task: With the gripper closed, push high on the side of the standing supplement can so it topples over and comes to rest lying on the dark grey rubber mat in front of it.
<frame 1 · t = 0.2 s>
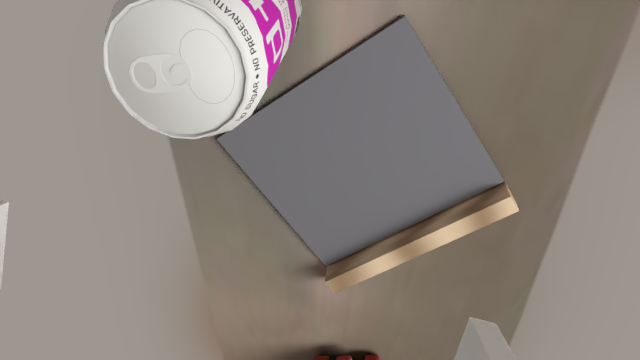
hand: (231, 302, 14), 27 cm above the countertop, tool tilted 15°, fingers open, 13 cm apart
stop rail: (413, 232, 45), on the countertop
mat: (359, 157, 42), on the countertop
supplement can: (247, 3, 37), on the countertop
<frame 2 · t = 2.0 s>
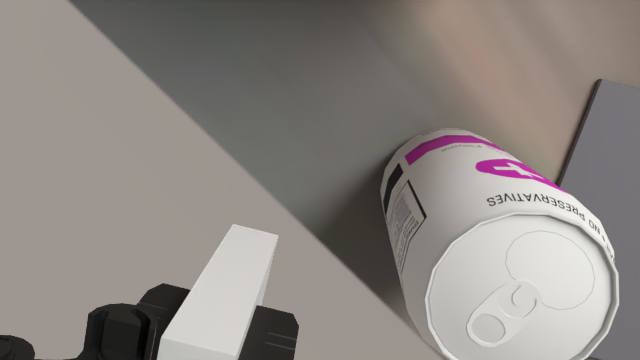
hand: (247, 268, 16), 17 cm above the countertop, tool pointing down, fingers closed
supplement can: (442, 187, 33), on the countertop
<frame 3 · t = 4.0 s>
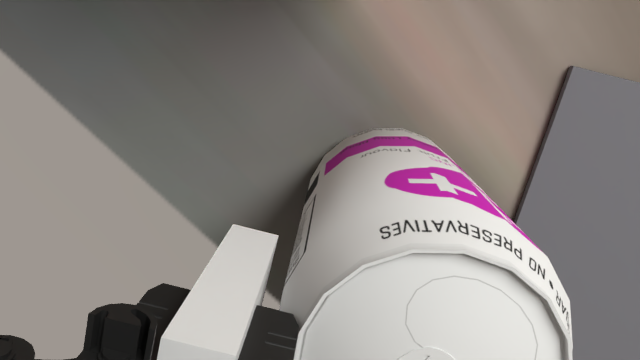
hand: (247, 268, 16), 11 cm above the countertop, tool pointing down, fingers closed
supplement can: (383, 200, 27), on the countertop, touching gripper
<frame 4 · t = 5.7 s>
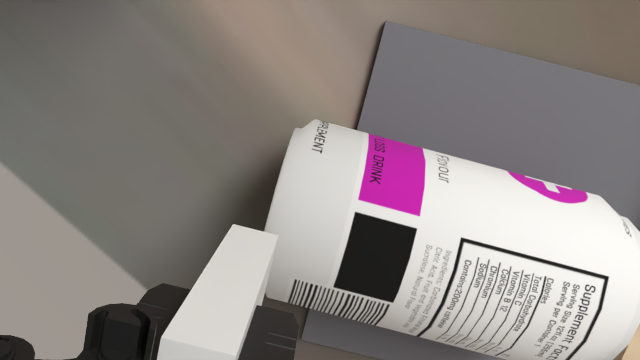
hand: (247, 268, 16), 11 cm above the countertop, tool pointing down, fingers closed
mat: (483, 227, 27), on the countertop
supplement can: (271, 201, 23), point 4 cm above the countertop, touching mat
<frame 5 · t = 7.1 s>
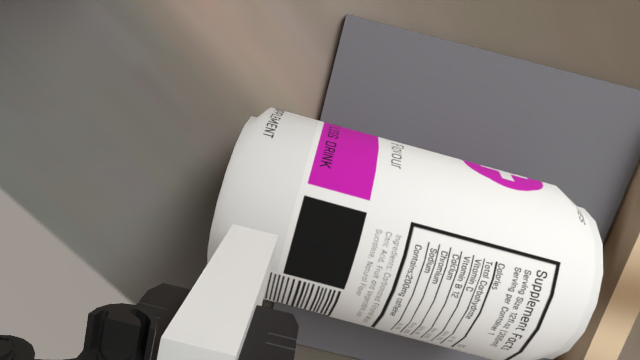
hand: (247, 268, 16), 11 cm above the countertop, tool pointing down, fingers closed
stop rail: (609, 264, 27), on the countertop
mat: (448, 223, 27), on the countertop
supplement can: (228, 191, 22), point 4 cm above the countertop, touching mat
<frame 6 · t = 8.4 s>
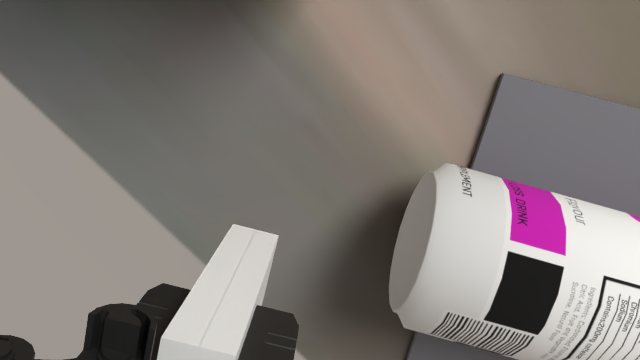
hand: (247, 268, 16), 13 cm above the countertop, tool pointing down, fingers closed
mat: (584, 263, 29), on the countertop
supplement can: (406, 238, 25), point 4 cm above the countertop, touching mat
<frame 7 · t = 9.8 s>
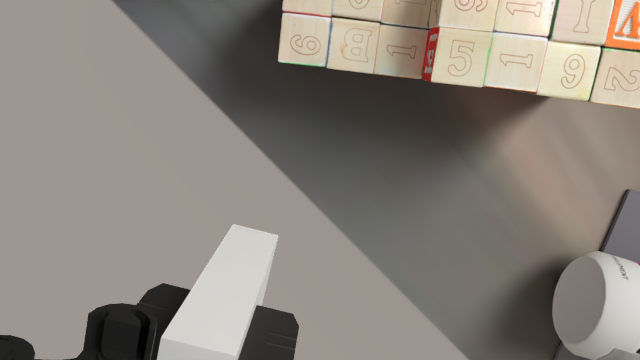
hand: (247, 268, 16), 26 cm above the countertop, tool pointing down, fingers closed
stack of blocks: (429, 36, 40), on the countertop
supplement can: (574, 298, 39), point 4 cm above the countertop, touching mat
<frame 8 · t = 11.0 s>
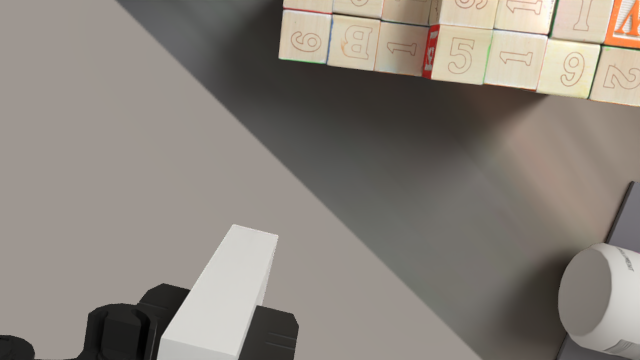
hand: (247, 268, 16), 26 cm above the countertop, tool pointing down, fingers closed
stack of blocks: (429, 33, 40), on the countertop
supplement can: (580, 291, 39), point 4 cm above the countertop, touching mat
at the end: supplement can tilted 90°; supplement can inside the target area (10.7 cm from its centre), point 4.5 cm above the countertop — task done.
